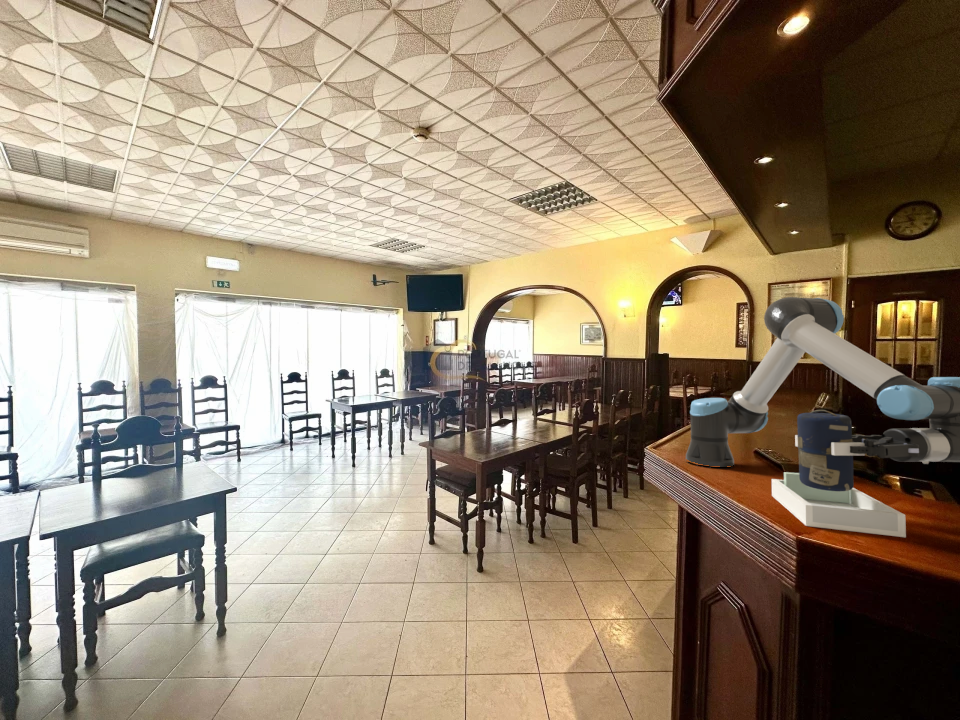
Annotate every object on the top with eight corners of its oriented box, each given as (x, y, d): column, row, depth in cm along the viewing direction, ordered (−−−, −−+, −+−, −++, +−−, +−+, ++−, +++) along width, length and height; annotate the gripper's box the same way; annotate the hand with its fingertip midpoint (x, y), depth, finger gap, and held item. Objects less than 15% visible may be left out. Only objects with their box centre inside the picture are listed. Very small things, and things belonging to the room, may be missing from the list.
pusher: (784, 495, 102) (783, 472, 102) (846, 501, 98) (846, 476, 98) (786, 497, 101) (786, 473, 101) (849, 503, 96) (849, 478, 96)
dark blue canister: (831, 482, 95) (828, 407, 95) (866, 494, 86) (863, 411, 86) (789, 482, 96) (786, 407, 96) (819, 494, 86) (816, 412, 87)
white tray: (771, 495, 106) (771, 478, 106) (849, 503, 100) (848, 485, 100) (806, 525, 85) (805, 504, 85) (905, 537, 79) (905, 514, 80)
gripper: (971, 473, 80) (859, 473, 80) (866, 451, 102) (778, 451, 102) (970, 436, 80) (858, 435, 80) (865, 422, 102) (777, 422, 102)
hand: (813, 444), depth 91 cm, fingers closed on dark blue canister, 9 cm apart
